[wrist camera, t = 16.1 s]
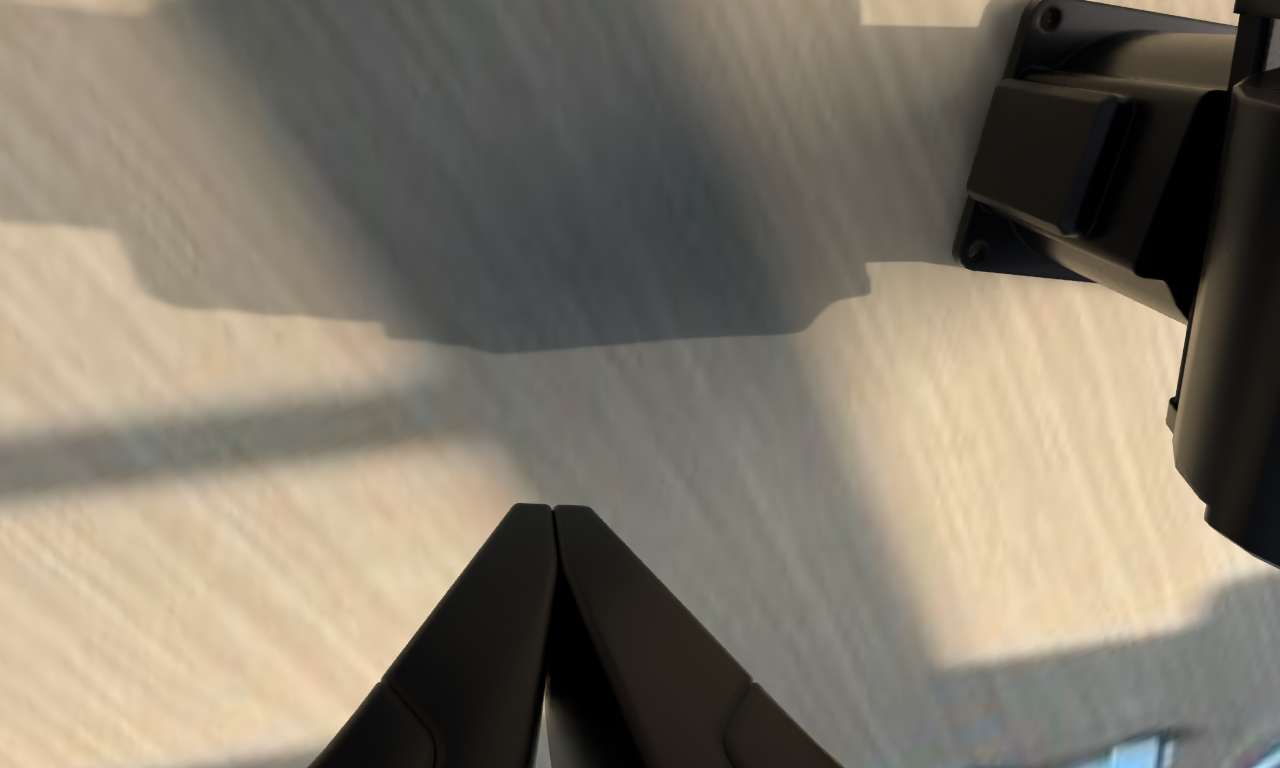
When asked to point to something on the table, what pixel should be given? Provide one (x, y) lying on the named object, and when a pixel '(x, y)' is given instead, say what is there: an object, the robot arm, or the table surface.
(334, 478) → the table surface
